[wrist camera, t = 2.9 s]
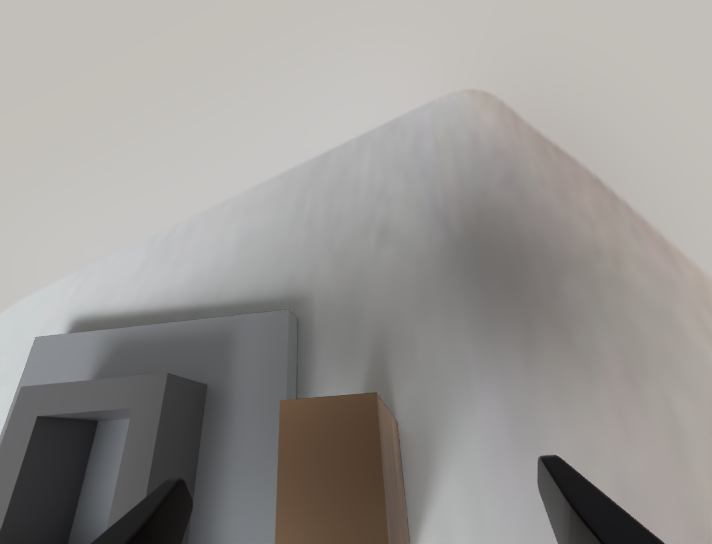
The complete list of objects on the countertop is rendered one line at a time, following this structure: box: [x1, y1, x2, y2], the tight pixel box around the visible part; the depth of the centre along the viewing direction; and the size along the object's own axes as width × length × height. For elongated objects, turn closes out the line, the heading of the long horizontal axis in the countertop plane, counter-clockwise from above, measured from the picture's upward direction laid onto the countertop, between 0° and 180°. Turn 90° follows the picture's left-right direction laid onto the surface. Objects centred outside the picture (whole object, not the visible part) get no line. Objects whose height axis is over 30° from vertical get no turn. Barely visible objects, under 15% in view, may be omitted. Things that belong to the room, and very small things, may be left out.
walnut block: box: [275, 392, 410, 544], centre depth 10 cm, size 5×2×10 cm, turn 3°
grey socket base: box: [0, 309, 298, 544], centre depth 14 cm, size 16×14×4 cm
